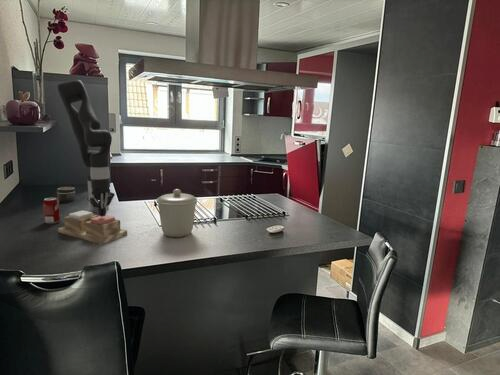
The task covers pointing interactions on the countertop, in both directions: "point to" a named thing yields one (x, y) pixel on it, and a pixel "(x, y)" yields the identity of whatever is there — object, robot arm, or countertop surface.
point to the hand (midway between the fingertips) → (102, 216)
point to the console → (92, 230)
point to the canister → (177, 213)
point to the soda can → (51, 210)
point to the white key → (81, 215)
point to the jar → (66, 194)
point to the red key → (102, 220)
